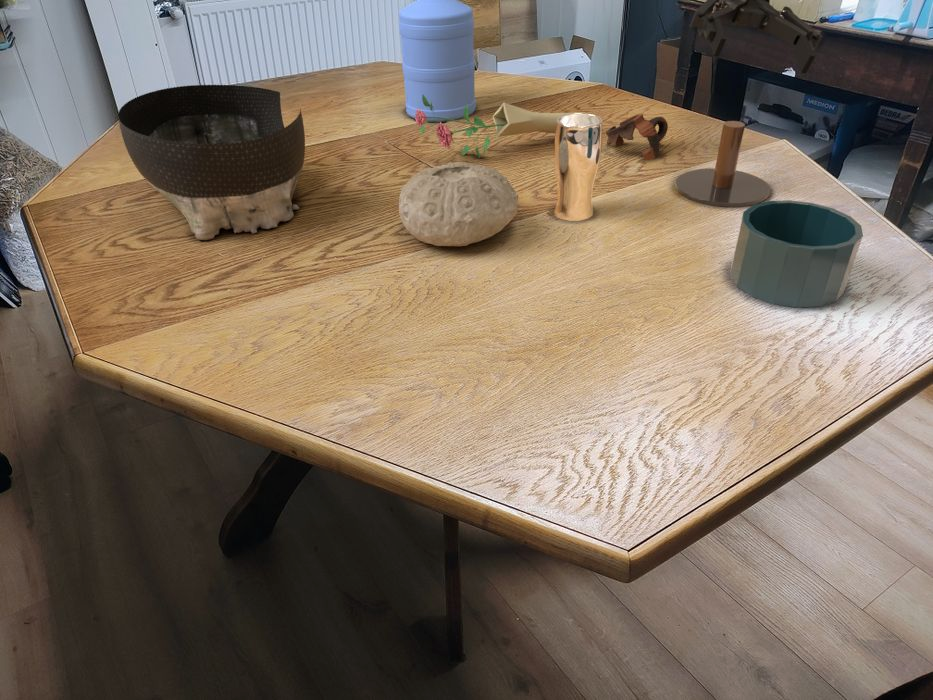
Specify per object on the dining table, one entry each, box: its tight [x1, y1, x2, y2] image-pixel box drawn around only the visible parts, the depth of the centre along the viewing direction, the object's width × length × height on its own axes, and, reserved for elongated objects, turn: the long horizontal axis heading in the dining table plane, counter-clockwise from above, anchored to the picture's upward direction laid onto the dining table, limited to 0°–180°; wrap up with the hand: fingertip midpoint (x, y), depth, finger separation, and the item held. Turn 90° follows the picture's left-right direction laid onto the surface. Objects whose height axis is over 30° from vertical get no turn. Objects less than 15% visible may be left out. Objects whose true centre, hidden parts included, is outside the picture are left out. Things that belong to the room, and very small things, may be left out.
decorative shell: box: [398, 161, 519, 247], centre depth 101 cm, size 18×18×10 cm
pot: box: [729, 199, 864, 309], centre depth 87 cm, size 14×14×8 cm
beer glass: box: [553, 112, 603, 222], centre depth 103 cm, size 7×7×15 cm
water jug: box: [398, 0, 477, 123], centre depth 145 cm, size 16×16×28 cm
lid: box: [674, 120, 771, 208], centre depth 110 cm, size 15×15×11 cm
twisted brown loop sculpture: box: [605, 113, 669, 161], centre depth 127 cm, size 12×10×8 cm
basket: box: [117, 84, 306, 241], centre depth 112 cm, size 28×35×16 cm
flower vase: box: [415, 95, 585, 159], centre depth 129 cm, size 12×12×35 cm
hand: (764, 56), depth 102 cm, fingers open, 13 cm apart
